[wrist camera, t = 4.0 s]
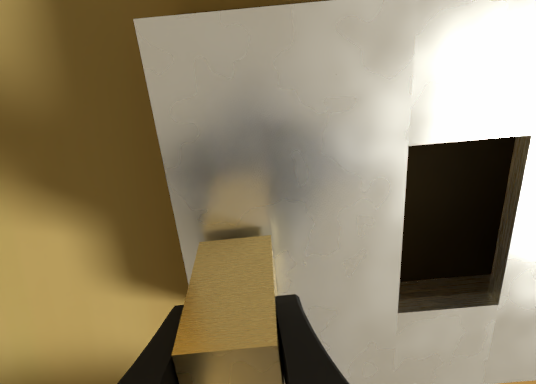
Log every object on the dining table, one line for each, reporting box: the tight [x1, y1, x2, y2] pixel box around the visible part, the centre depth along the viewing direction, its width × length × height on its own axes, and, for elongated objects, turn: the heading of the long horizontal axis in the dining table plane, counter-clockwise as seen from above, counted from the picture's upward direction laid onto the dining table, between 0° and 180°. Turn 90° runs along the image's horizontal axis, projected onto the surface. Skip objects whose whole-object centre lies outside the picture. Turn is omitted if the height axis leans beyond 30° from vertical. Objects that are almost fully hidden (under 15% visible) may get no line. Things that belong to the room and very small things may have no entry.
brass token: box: [172, 235, 285, 384], centre depth 13 cm, size 5×2×5 cm, turn 6°
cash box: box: [133, 0, 536, 384], centre depth 17 cm, size 16×20×6 cm
